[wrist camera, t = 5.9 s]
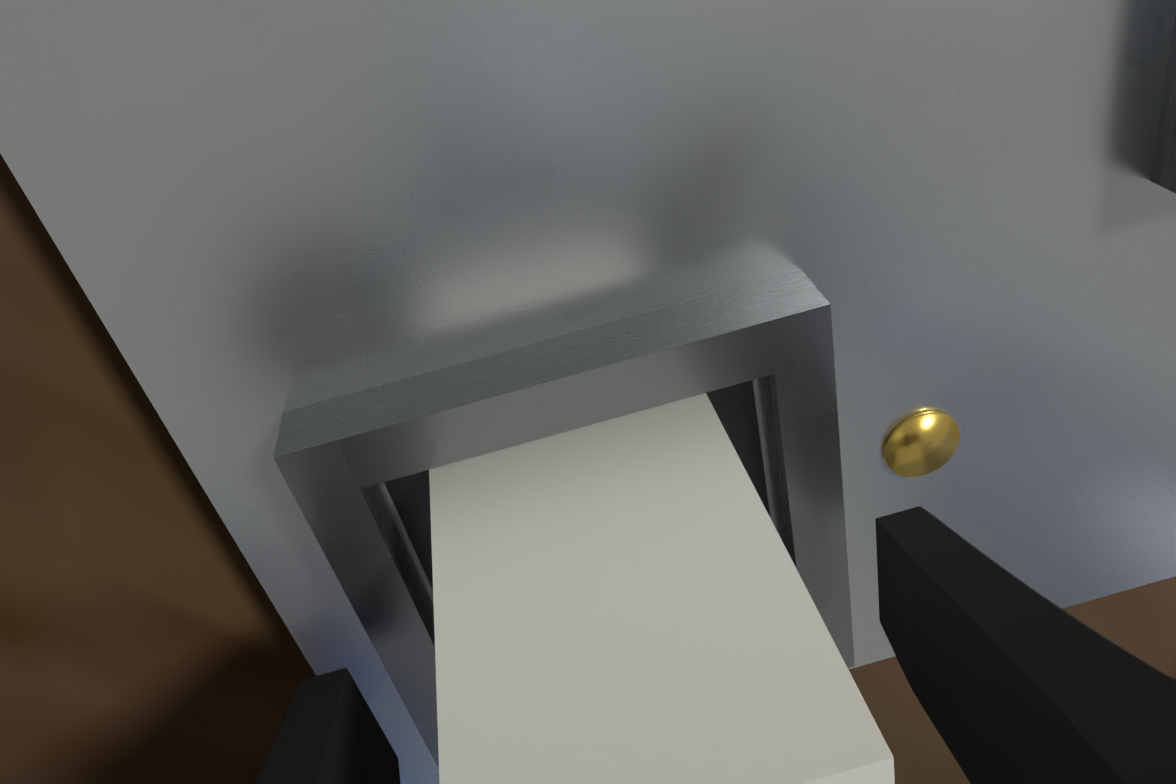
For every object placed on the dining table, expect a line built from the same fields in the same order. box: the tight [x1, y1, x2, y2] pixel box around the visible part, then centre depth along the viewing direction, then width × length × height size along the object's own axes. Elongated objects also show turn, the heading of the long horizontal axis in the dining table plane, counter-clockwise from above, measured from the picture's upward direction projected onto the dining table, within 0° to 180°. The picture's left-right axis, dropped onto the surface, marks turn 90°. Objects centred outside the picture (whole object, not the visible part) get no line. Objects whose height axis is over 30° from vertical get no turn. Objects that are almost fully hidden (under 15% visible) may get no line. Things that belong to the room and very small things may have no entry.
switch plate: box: [0, 0, 1176, 784], centre depth 12 cm, size 16×22×2 cm
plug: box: [429, 393, 895, 784], centre depth 11 cm, size 4×4×7 cm
